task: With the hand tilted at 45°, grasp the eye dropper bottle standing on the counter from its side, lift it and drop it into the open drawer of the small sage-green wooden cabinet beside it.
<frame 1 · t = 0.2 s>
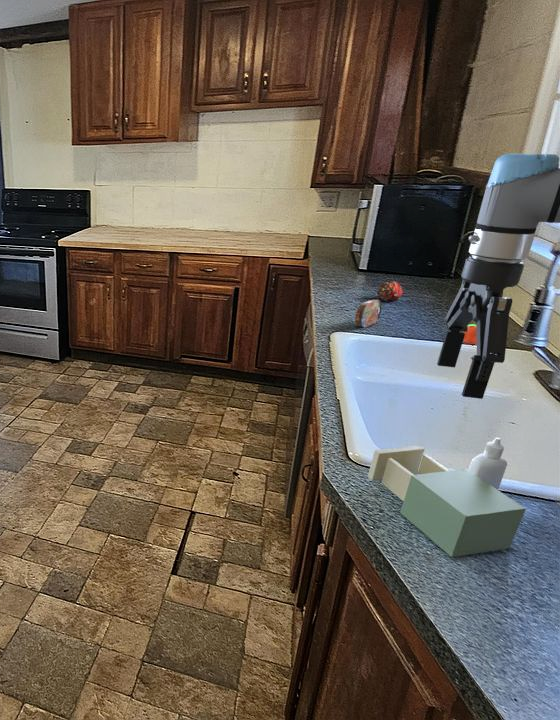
hand: (458, 380, 91), 21 cm above the worktop, tool pointing down, fingers open, 13 cm apart
sandwich: (365, 325, 186), on the worktop
red tomato: (470, 346, 167), on the worktop
drawer: (410, 474, 95), point 4 cm above the worktop, slide at 8.0 cm
eye dropper bottle: (476, 496, 95), on the worktop
cabinet: (452, 529, 87), on the worktop
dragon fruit: (387, 300, 216), on the worktop
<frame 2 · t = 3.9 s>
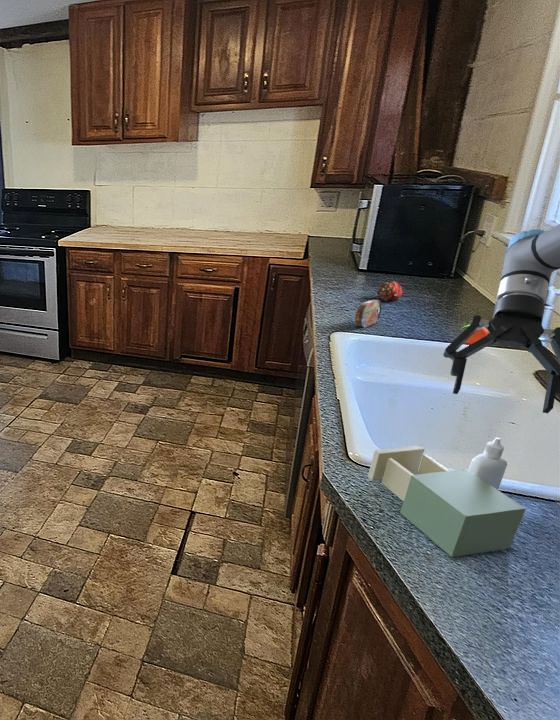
hand: (500, 400, 97), 15 cm above the worktop, tool tilted 45°, fingers open, 13 cm apart
nothing on the worktop moved.
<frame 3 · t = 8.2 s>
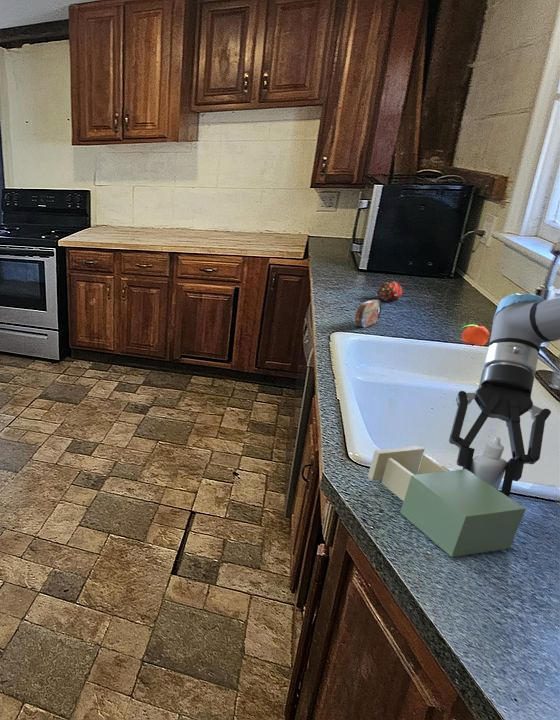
hand: (483, 490, 91), 4 cm above the worktop, tool tilted 45°, fingers closed on eye dropper bottle, 5 cm apart
eye dropper bottle: (476, 496, 95), on the worktop, touching gripper
everything else where it was.
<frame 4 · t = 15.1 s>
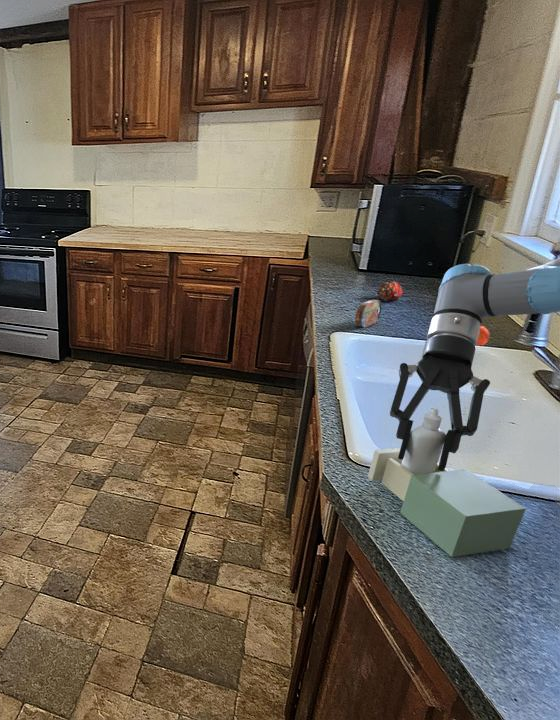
hand: (421, 462, 89), 9 cm above the worktop, tool tilted 45°, fingers closed on eye dropper bottle, 5 cm apart
eye dropper bottle: (417, 470, 93), point 5 cm above the worktop, touching gripper
everything else where it was.
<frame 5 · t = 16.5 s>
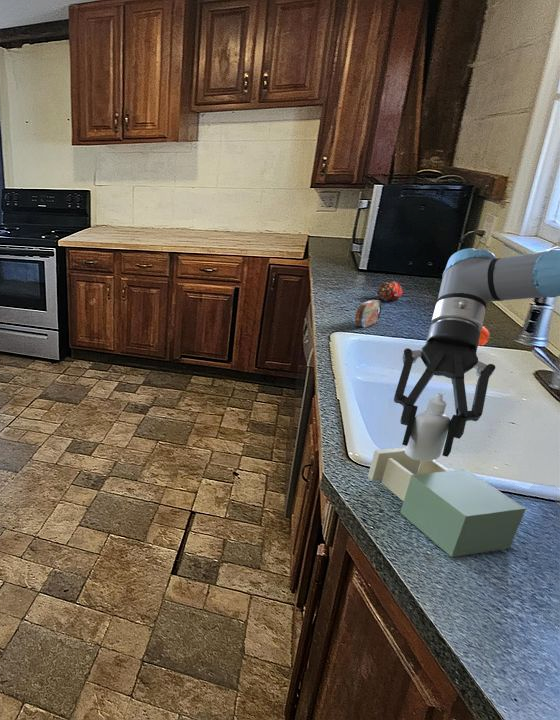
hand: (425, 448, 88), 12 cm above the worktop, tool tilted 45°, fingers closed on eye dropper bottle, 5 cm apart
eye dropper bottle: (421, 456, 92), point 8 cm above the worktop, touching gripper
everything else where it was.
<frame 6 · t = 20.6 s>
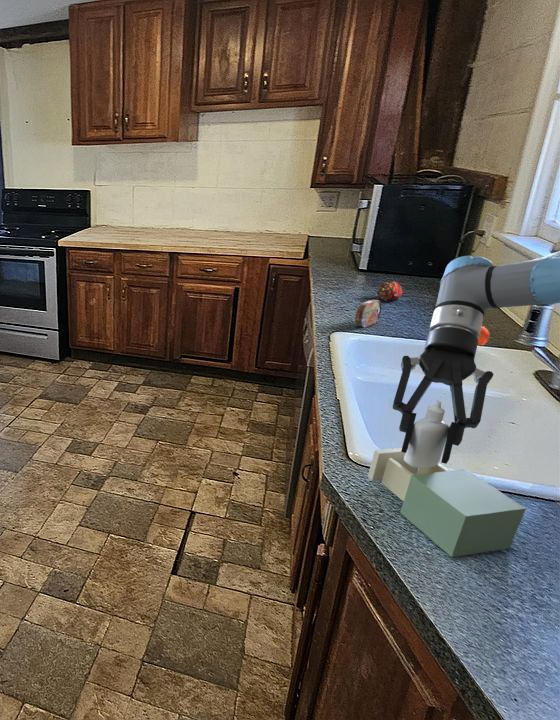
hand: (424, 455, 88), 10 cm above the worktop, tool tilted 45°, fingers closed on eye dropper bottle, 5 cm apart
eye dropper bottle: (420, 463, 92), point 7 cm above the worktop, touching gripper
everything else where it was.
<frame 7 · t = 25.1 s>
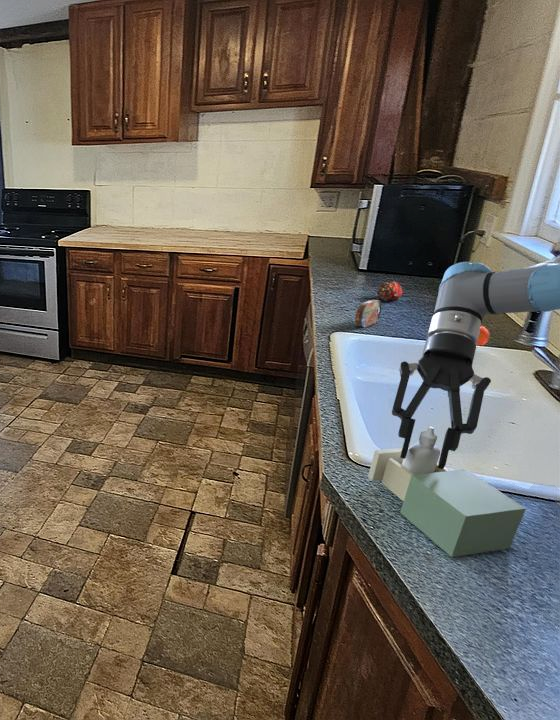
hand: (422, 460, 89), 9 cm above the worktop, tool tilted 45°, fingers open, 5 cm apart
drawer: (410, 474, 94), point 4 cm above the worktop, slide at 8.0 cm, touching eye dropper bottle
eye dropper bottle: (411, 486, 94), point 2 cm above the worktop, touching drawer, gripper
everything else where it was.
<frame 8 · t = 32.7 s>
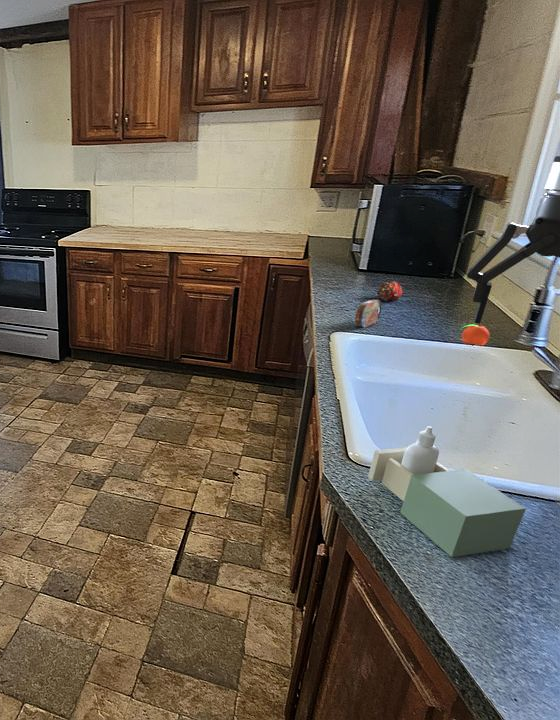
hand: (527, 329, 86), 31 cm above the worktop, tool pointing down, fingers open, 13 cm apart
eye dropper bottle: (411, 486, 94), point 2 cm above the worktop, touching drawer
everything else where it was.
at the end: eye dropper bottle inside the target area in the drawer (0.1 cm from its centre), point 1.9 cm above the cabinet's base; the gripper is holding nothing; drawer slide at 8.0 cm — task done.
